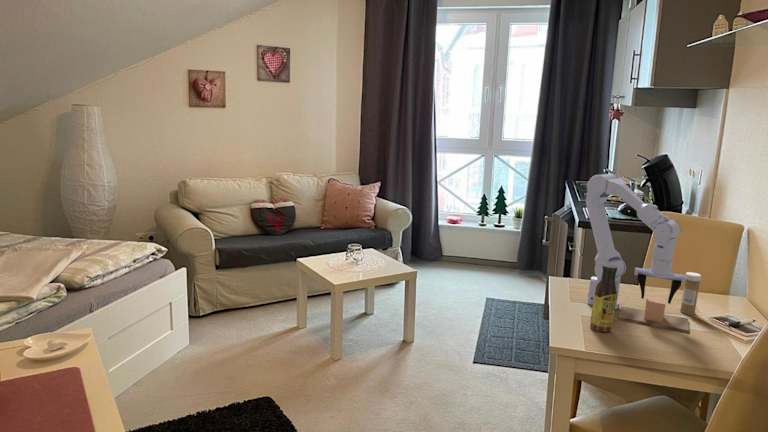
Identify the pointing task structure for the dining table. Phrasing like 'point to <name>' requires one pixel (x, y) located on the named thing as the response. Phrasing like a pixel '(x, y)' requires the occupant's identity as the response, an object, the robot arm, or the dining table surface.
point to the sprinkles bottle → (690, 293)
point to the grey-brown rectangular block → (667, 323)
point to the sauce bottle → (604, 300)
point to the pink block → (654, 309)
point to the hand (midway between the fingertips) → (655, 300)
